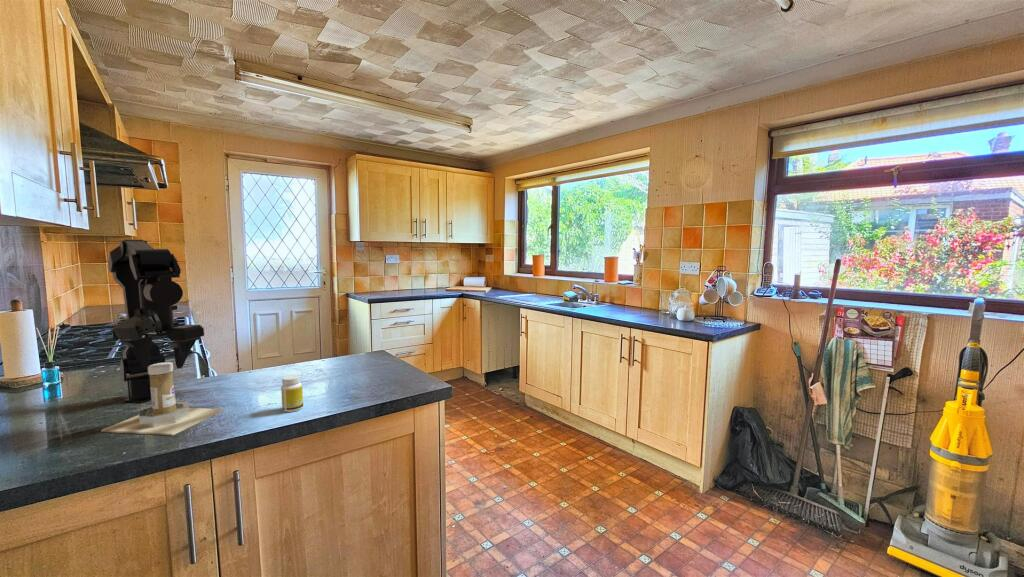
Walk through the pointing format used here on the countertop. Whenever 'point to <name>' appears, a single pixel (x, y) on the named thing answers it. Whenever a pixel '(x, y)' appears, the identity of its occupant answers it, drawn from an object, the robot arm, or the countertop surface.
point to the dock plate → (171, 429)
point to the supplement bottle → (291, 393)
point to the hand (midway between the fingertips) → (162, 367)
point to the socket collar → (164, 416)
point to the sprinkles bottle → (162, 388)
